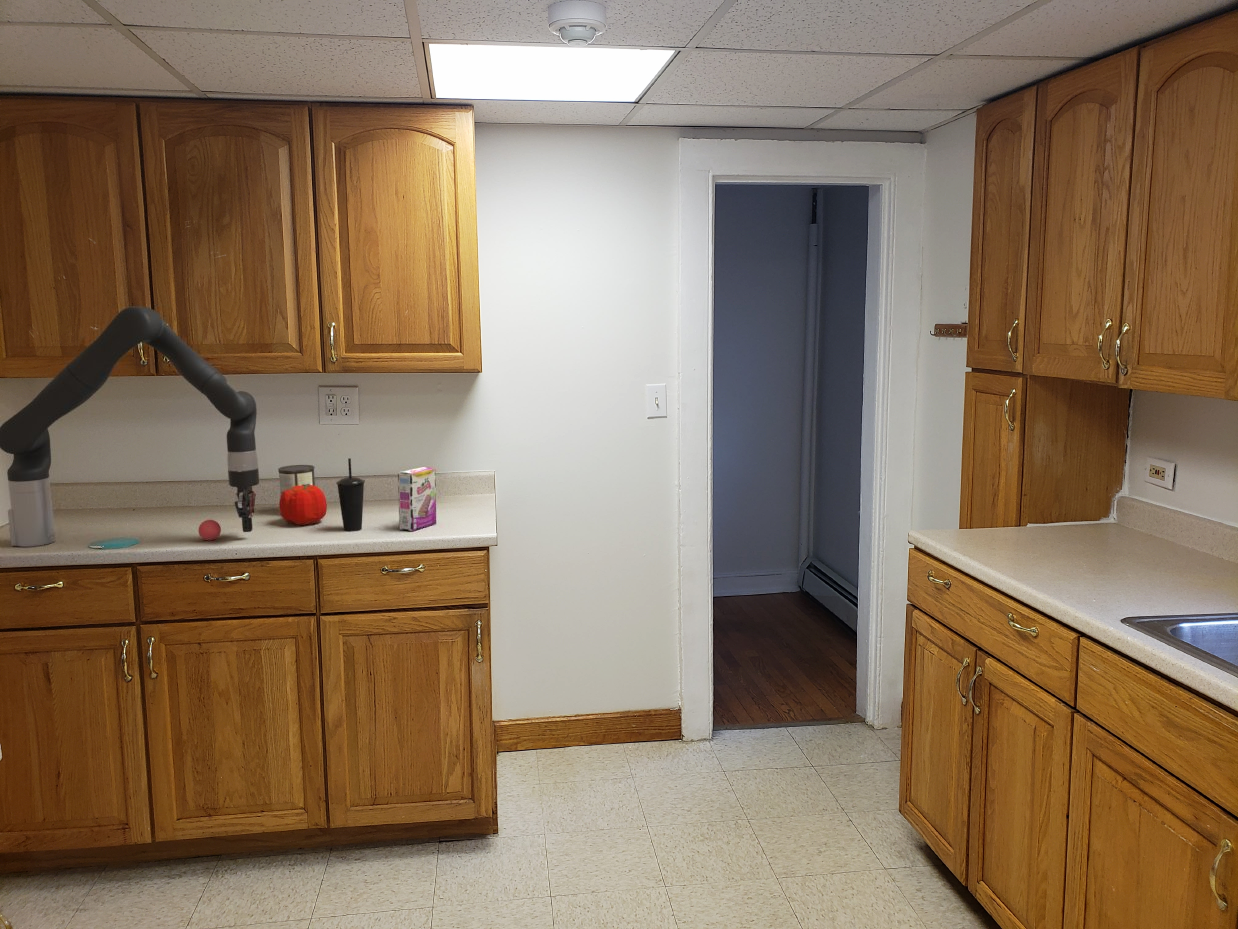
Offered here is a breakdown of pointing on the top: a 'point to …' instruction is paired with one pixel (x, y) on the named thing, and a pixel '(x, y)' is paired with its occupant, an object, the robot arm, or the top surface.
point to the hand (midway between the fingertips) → (247, 531)
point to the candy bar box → (417, 498)
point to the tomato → (303, 505)
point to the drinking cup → (351, 501)
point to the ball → (209, 530)
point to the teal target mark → (115, 543)
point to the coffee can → (296, 476)
